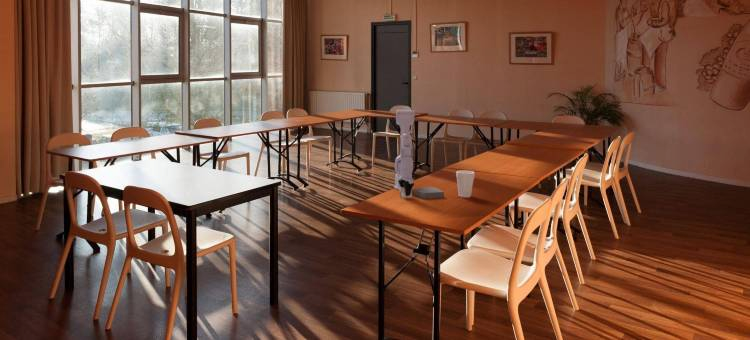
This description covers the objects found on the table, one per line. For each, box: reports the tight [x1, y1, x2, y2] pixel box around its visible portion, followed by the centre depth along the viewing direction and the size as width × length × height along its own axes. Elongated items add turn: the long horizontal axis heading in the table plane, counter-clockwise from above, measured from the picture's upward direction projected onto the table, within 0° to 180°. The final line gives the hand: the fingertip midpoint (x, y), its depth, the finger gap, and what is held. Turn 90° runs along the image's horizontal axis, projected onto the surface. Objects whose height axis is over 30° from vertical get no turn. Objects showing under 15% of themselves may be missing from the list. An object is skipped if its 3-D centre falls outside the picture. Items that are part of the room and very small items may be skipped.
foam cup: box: [455, 169, 476, 198], centre depth 351 cm, size 10×9×13 cm
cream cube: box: [399, 187, 413, 199], centre depth 348 cm, size 5×5×5 cm
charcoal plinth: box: [413, 186, 445, 200], centre depth 352 cm, size 12×12×3 cm
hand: (405, 194), depth 348 cm, fingers closed on cream cube, 5 cm apart
